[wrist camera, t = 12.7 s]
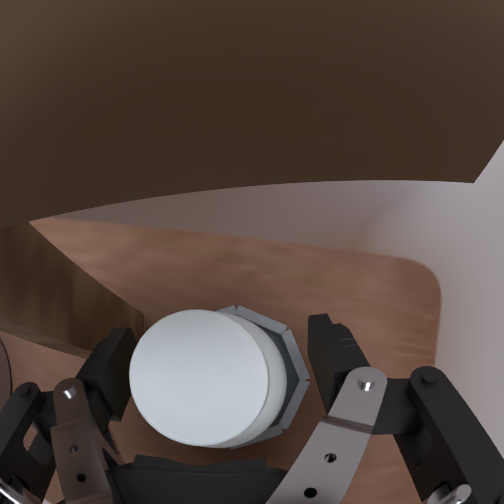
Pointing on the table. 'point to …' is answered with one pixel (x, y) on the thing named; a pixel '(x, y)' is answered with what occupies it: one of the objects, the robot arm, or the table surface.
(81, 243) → the table surface
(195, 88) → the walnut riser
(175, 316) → the supplement bottle
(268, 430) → the locator ring
